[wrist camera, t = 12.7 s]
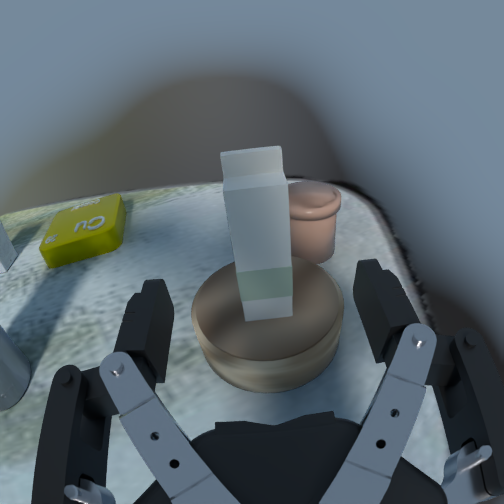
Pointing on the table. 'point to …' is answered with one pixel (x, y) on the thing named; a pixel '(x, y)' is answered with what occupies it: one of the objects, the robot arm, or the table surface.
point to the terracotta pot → (313, 220)
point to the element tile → (84, 231)
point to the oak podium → (269, 331)
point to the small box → (6, 251)
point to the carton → (259, 230)
